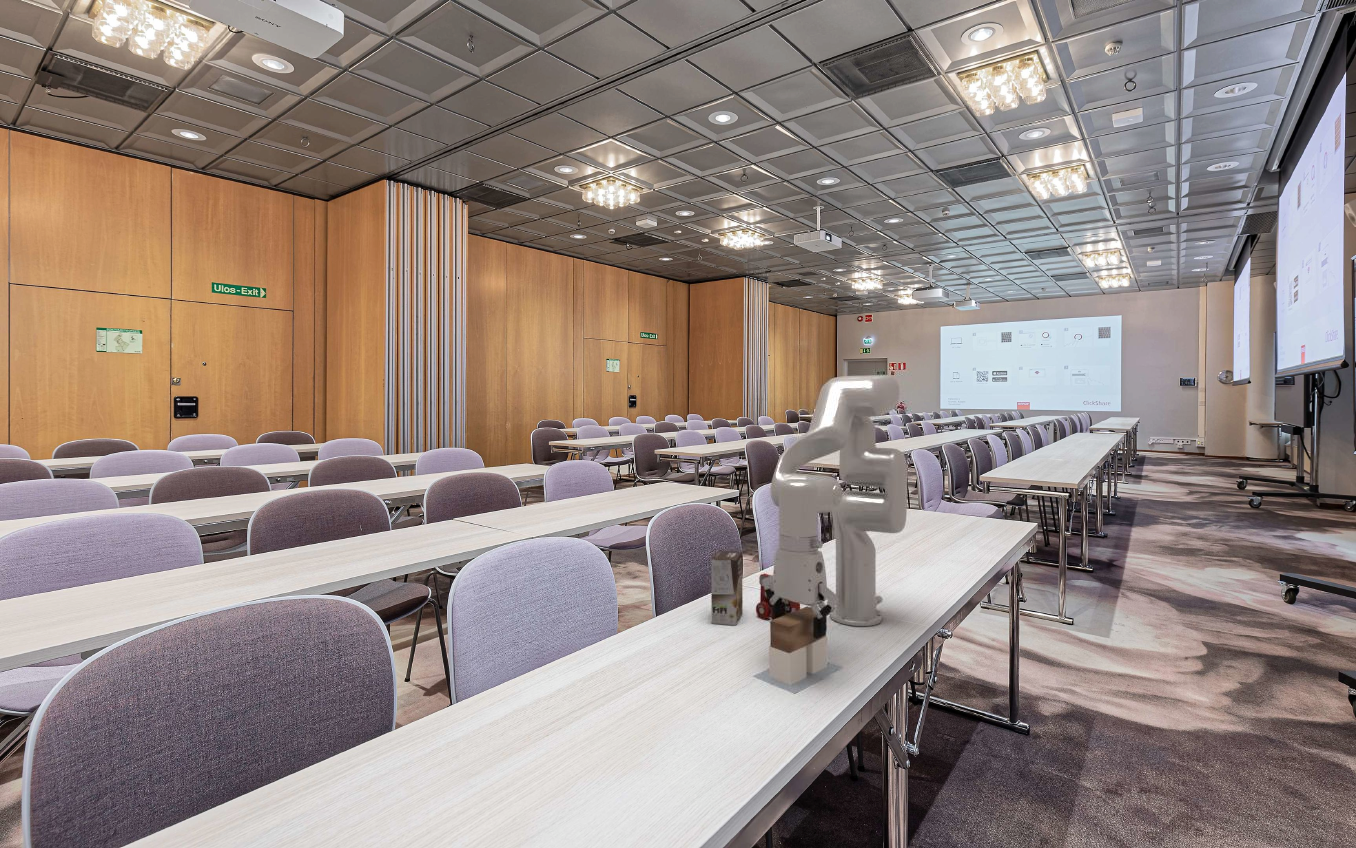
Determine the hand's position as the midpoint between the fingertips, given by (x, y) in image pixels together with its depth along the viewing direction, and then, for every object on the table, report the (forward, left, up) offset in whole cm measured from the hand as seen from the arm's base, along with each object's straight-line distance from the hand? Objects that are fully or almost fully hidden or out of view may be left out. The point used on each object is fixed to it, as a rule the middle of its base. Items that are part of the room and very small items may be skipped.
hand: (798, 629), depth 121 cm
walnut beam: (0, 0, -2) cm, 2 cm away
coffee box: (-14, -32, -10) cm, 36 cm away
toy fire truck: (-23, -23, -10) cm, 34 cm away
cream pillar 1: (+3, 0, -8) cm, 9 cm away
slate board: (0, 0, -9) cm, 9 cm away
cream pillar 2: (-4, 0, -8) cm, 9 cm away
